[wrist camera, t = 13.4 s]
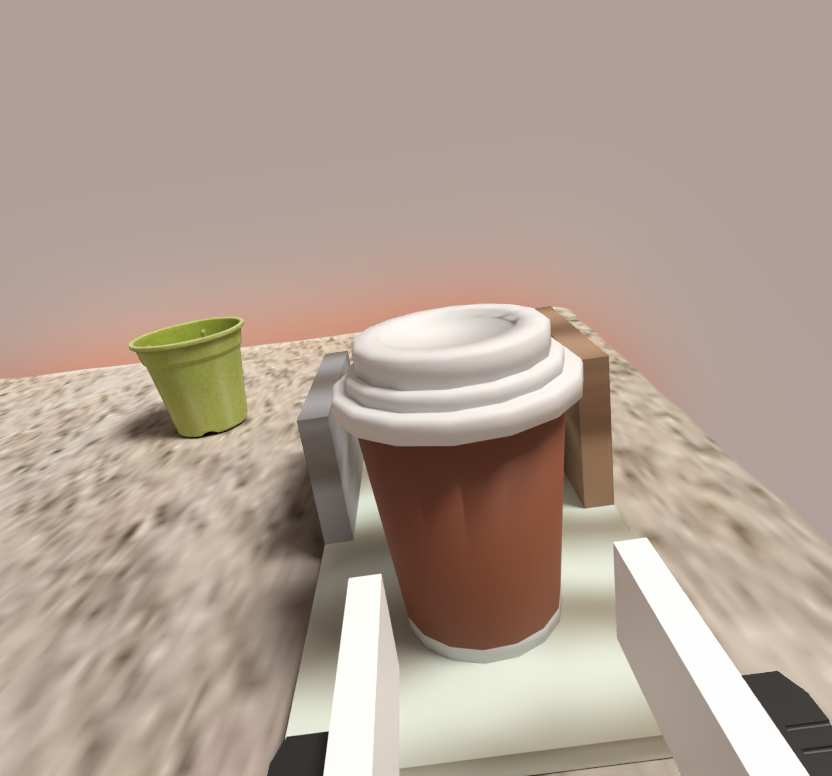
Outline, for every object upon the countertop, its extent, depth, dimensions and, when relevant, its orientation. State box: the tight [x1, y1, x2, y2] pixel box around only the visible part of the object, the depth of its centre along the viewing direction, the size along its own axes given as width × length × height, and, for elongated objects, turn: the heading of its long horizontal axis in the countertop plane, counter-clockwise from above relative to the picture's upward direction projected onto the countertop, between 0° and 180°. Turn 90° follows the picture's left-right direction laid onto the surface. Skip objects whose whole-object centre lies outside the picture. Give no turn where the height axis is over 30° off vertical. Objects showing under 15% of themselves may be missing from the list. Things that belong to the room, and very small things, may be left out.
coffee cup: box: [331, 304, 584, 664], centre depth 23 cm, size 9×9×12 cm
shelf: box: [285, 306, 673, 776], centre depth 29 cm, size 24×15×9 cm, turn 1°
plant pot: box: [128, 317, 247, 437], centre depth 52 cm, size 9×9×9 cm
